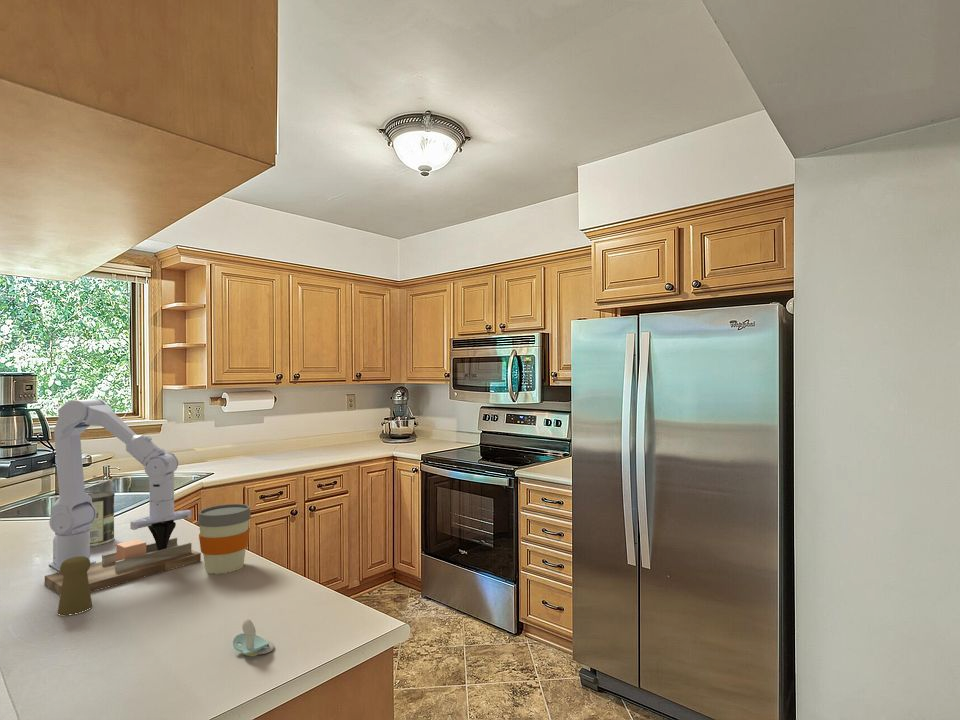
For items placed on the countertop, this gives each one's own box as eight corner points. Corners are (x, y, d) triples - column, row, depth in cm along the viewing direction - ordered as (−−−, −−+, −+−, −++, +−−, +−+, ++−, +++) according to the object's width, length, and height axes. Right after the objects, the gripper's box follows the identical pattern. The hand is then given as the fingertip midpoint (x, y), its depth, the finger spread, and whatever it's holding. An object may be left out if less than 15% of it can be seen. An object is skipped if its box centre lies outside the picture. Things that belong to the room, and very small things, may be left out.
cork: (73, 617, 113) (73, 563, 113) (49, 615, 114) (50, 562, 114) (99, 604, 119) (99, 554, 119) (76, 603, 120) (76, 552, 120)
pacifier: (259, 639, 103) (228, 651, 98) (260, 605, 103) (229, 616, 98) (281, 651, 98) (250, 664, 94) (282, 615, 99) (251, 627, 94)
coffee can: (105, 535, 172) (105, 490, 172) (120, 540, 166) (121, 493, 167) (66, 543, 163) (66, 496, 164) (82, 549, 158) (82, 500, 158)
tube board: (44, 584, 131) (44, 565, 131) (174, 550, 155) (174, 534, 155) (66, 598, 122) (66, 578, 122) (200, 560, 146) (200, 544, 147)
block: (116, 563, 139) (116, 544, 139) (137, 558, 143) (137, 539, 143) (124, 567, 136) (124, 547, 136) (146, 561, 140) (146, 542, 140)
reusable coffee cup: (205, 580, 132) (205, 518, 133) (191, 567, 142) (191, 509, 142) (258, 567, 140) (257, 509, 141) (242, 556, 150) (241, 501, 150)
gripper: (138, 506, 138) (138, 560, 137) (196, 496, 149) (196, 545, 149) (127, 503, 142) (126, 555, 142) (184, 493, 154) (184, 541, 153)
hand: (161, 550), depth 146 cm, fingers closed
